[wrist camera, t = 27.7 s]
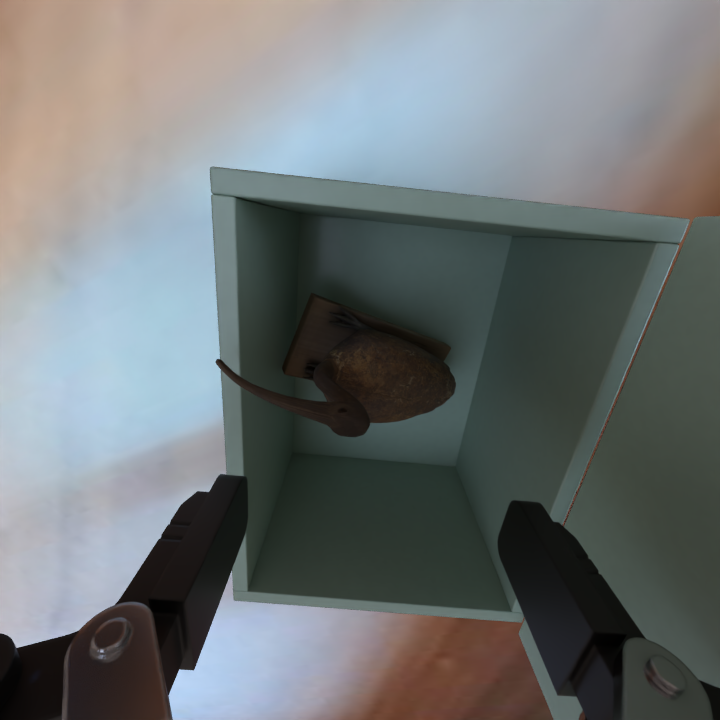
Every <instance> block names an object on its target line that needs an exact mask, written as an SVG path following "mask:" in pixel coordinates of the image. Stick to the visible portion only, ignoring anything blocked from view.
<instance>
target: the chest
mask: <svg viewBox="0 0 720 720" xmlns="http://www.w3.org/2000/svg"><path fill="white" fill-rule="evenodd" d="M210 181H211V192H212V194H213V195H211V202H212V220H213V238H214V256H215V273H216V291H217V309H218V327H219V345H220V359H221V360H222V361H223V362H224V363H225V364H226V365H227V366H228V367H229V368H230V369H231V370H232V371H233V372H235V373H236V374H237V375H239V376H240V377H242V378H243V379H245V380H247V381H249V382H250V383H252V384H254V385H257V386H259V387H262V388H264V389H267V390H270V391H273V392H276V393H280V394H283V395H287V396H290V397H295V398H300V399H306V400H313V401H325V402H327V400H326V398H325V396H324V394H323V392H322V391H321V390H320V389H319V388H318V387H317V386H316V385H315V383H314V381H312V380H307V379H303V378H298V377H293V376H289V375H285V374H284V372H283V370H282V366H283V363H284V360H285V358H286V356H287V353H288V350H289V348H290V345H291V343H292V340H293V338H294V335H295V333H296V330H297V328H298V325H299V322H300V320H301V317H302V315H303V312H304V310H305V307H306V304H307V302H308V299H309V297H310V295H311V293H314V294H317V295H319V296H322V297H324V298H327V299H329V300H332V301H335V302H337V303H340V304H343V305H345V306H348V307H351V308H353V309H356V310H359V311H361V312H364V313H367V314H369V315H372V316H375V317H377V318H380V319H383V320H385V321H388V322H390V323H393V324H396V325H399V326H401V327H404V328H406V329H409V330H412V331H415V332H417V333H420V334H422V335H425V336H428V337H430V338H433V339H436V340H438V341H441V342H444V343H446V344H447V345H449V346H450V347H451V350H450V352H449V353H448V355H447V357H446V359H445V360H444V363H446V364H447V365H448V366H449V368H450V372H451V373H452V374H453V376H454V378H455V382H456V388H455V392H454V394H453V396H451V397H450V399H449V400H447V401H446V402H445V403H444V404H443V405H441V406H440V407H437V408H435V409H434V410H433V411H431V412H428V413H425V414H421V415H417V416H415V417H412V418H409V419H406V420H402V421H398V422H390V423H370V426H369V428H368V430H367V432H366V433H365V434H364V435H362V436H358V437H344V436H339V435H337V434H336V433H334V432H333V431H332V430H331V428H330V427H328V426H327V425H325V424H322V423H320V422H317V421H314V420H312V419H309V418H306V417H304V416H301V415H298V414H295V413H293V412H290V411H288V410H285V409H283V408H281V407H278V406H276V405H274V404H271V403H269V402H267V401H265V400H263V399H261V398H259V397H257V396H255V395H254V394H252V393H250V392H248V391H247V390H245V389H243V388H242V387H240V386H239V385H237V384H236V383H235V382H233V381H232V380H231V379H230V378H229V377H228V376H227V375H226V374H225V373H224V372H223V371H222V370H221V381H222V399H223V417H224V435H225V453H226V471H227V475H236V476H246V477H247V481H248V523H247V528H246V533H245V536H244V539H243V542H242V544H241V547H240V550H239V552H238V555H237V558H236V560H235V563H234V565H233V568H232V578H233V596H234V600H235V601H246V602H260V603H273V604H286V605H299V606H312V607H325V608H338V609H351V610H364V611H378V612H391V613H404V614H417V615H430V616H443V617H456V618H469V619H482V620H495V621H509V622H522V620H523V618H524V615H523V612H522V610H521V608H520V605H519V603H518V601H517V598H516V596H515V593H514V591H513V589H512V586H511V584H510V581H509V579H508V577H507V574H506V572H505V570H504V567H503V565H502V562H501V560H500V557H499V553H498V546H497V541H498V535H499V532H500V529H501V526H502V523H503V520H504V518H505V515H506V512H507V509H508V506H509V504H510V502H511V501H512V500H520V501H532V502H539V503H541V504H542V505H543V507H544V508H545V510H546V511H547V513H548V514H549V516H550V517H551V519H552V520H553V522H559V523H560V524H561V525H562V524H563V522H564V520H565V517H566V515H567V512H568V510H569V508H570V505H571V503H572V501H573V498H574V496H575V493H576V491H577V489H578V486H579V484H580V481H581V479H582V477H583V474H584V472H585V470H586V467H587V465H588V462H589V460H590V458H591V455H592V453H593V450H594V448H595V446H596V443H597V441H598V439H599V436H600V434H601V431H602V429H603V427H604V424H605V422H606V419H607V417H608V415H609V412H610V410H611V408H612V405H613V403H614V400H615V398H616V396H617V393H618V391H619V389H620V386H621V384H622V381H623V379H624V377H625V374H626V372H627V369H628V367H629V365H630V362H631V360H632V358H633V355H634V353H635V350H636V348H637V346H638V343H639V341H640V338H641V336H642V334H643V331H644V329H645V327H646V324H647V322H648V319H649V317H650V315H651V312H652V310H653V307H654V305H655V303H656V300H657V298H658V296H659V293H660V291H661V288H662V286H663V284H664V281H665V279H666V277H667V274H668V272H669V269H670V267H671V265H672V262H673V260H674V257H675V255H676V253H677V250H678V248H679V245H677V244H678V243H680V242H681V241H682V239H683V236H684V234H685V231H686V229H687V227H688V224H689V222H690V220H689V219H687V218H678V217H668V216H659V215H650V214H641V213H632V212H623V211H614V210H604V209H595V208H586V207H577V206H568V205H559V204H550V203H540V202H531V201H522V200H513V199H504V198H495V197H485V196H476V195H467V194H458V193H449V192H440V191H431V190H421V189H412V188H403V187H394V186H385V185H376V184H367V183H357V182H348V181H339V180H330V179H321V178H312V177H302V176H293V175H284V174H275V173H266V172H257V171H248V170H238V169H229V168H220V167H210Z"/></svg>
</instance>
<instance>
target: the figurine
mask: <svg viewBox="0 0 720 720" xmlns="http://www.w3.org/2000/svg"><path fill="white" fill-rule="evenodd" d="M450 350H451V347H450V346H449V345H447V344H446V343H444V342H441V341H438V340H436V339H433V338H430V337H428V336H425V335H422V334H420V333H417V332H415V331H412V330H409V329H406V328H404V327H401V326H399V325H396V324H393V323H390V322H388V321H385V320H383V319H380V318H377V317H375V316H372V315H369V314H367V313H364V312H361V311H359V310H356V309H353V308H351V307H348V306H345V305H343V304H340V303H337V302H335V301H332V300H329V299H327V298H324V297H322V296H319V295H317V294H314V293H311V295H310V297H309V299H308V302H307V304H306V307H305V310H304V312H303V315H302V317H301V320H300V322H299V325H298V328H297V330H296V333H295V335H294V338H293V340H292V343H291V345H290V348H289V350H288V353H287V356H286V358H285V360H284V363H283V366H282V370H283V372H284V374H285V375H289V376H293V377H298V378H303V379H307V380H312V381H314V383H315V385H316V386H317V387H318V388H319V389H320V390H321V391H322V392H323V394H324V396H325V398H326V400H327V402H325V401H313V400H306V399H300V398H295V397H290V396H287V395H283V394H280V393H276V392H273V391H270V390H267V389H264V388H262V387H259V386H257V385H254V384H252V383H250V382H249V381H247V380H245V379H243V378H242V377H240V376H239V375H237V374H236V373H235V372H233V371H232V370H231V369H230V368H229V367H228V366H227V365H226V364H225V363H224V362H223V361H222V360H221V359H217V360H216V364H217V365H218V366H219V368H220V369H221V370H222V371H223V372H224V373H225V374H226V375H227V376H228V377H229V378H230V379H231V380H232V381H233V382H235V383H236V384H237V385H239V386H240V387H242V388H243V389H245V390H247V391H248V392H250V393H252V394H254V395H255V396H257V397H259V398H261V399H263V400H265V401H267V402H269V403H271V404H274V405H276V406H278V407H281V408H283V409H285V410H288V411H290V412H293V413H295V414H298V415H301V416H304V417H306V418H309V419H312V420H314V421H317V422H320V423H322V424H325V425H327V426H328V427H330V428H331V430H332V431H333V432H334V433H336V434H337V435H339V436H344V437H358V436H362V435H364V434H365V433H366V432H367V430H368V428H369V426H370V423H390V422H398V421H402V420H406V419H409V418H412V417H415V416H417V415H421V414H425V413H428V412H431V411H433V410H434V409H435V408H437V407H440V406H441V405H443V404H444V403H445V402H446V401H447V400H449V399H450V397H451V396H453V394H454V392H455V388H456V382H455V378H454V376H453V374H452V373H451V372H450V368H449V366H448V365H447V364H446V363H444V360H445V359H446V357H447V355H448V353H449V352H450Z"/></svg>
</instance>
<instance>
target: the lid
mask: <svg viewBox="0 0 720 720" xmlns="http://www.w3.org/2000/svg"><path fill="white" fill-rule="evenodd" d="M564 528H566V529H567V530H568V531H569V532H570V533H571V534H572V535H573V536H574V537H576V539H577V540H578V542H579V543H580V544H581V546H582V547H583V549H584V550H585V552H586V553H587V555H588V558H589V559H591V560H592V562H593V563H594V565H595V566H596V568H597V569H598V570H599V571H598V572H599V574H601V575H602V576H603V578H604V579H605V581H606V582H607V583H608V585H609V586H610V588H611V589H612V591H613V592H614V594H615V595H616V596H617V598H618V599H619V601H620V602H621V604H622V605H623V607H624V608H625V609H626V611H627V612H628V614H629V615H630V617H631V618H632V620H633V621H634V622H635V624H636V625H637V627H638V628H639V630H640V631H641V633H642V634H643V635H644V637H645V638H646V639H648V640H650V641H653V642H655V643H657V644H659V645H661V646H662V647H664V648H666V649H667V650H669V651H670V652H671V653H673V654H674V655H675V656H676V657H678V658H679V659H680V660H681V661H682V662H683V663H684V664H685V665H686V666H687V667H688V668H689V669H690V670H691V671H692V672H693V674H694V675H695V676H696V677H697V679H698V680H700V681H703V682H705V683H708V684H710V685H713V686H715V687H718V688H720V216H710V217H696V218H695V219H694V220H693V222H692V225H691V227H690V230H689V232H688V234H687V237H686V239H685V241H684V244H683V246H682V248H681V251H680V253H679V256H678V258H677V260H676V263H675V265H674V267H673V270H672V272H671V274H670V277H669V279H668V282H667V284H666V286H665V289H664V291H663V293H662V296H661V298H660V301H659V303H658V305H657V308H656V310H655V312H654V315H653V317H652V319H651V322H650V324H649V327H648V329H647V331H646V334H645V336H644V338H643V341H642V343H641V345H640V348H639V350H638V353H637V355H636V357H635V360H634V362H633V364H632V367H631V369H630V371H629V374H628V376H627V379H626V381H625V383H624V386H623V388H622V390H621V393H620V395H619V397H618V400H617V402H616V405H615V407H614V409H613V412H612V414H611V416H610V419H609V421H608V423H607V426H606V428H605V431H604V433H603V435H602V438H601V440H600V442H599V445H598V447H597V449H596V452H595V454H594V457H593V459H592V461H591V464H590V466H589V468H588V471H587V473H586V475H585V478H584V480H583V483H582V485H581V487H580V490H579V492H578V494H577V497H576V499H575V501H574V504H573V506H572V509H571V511H570V513H569V516H568V518H567V520H566V523H565V525H564ZM519 636H520V638H521V641H522V643H523V645H524V648H525V650H526V653H527V655H528V658H529V660H530V663H531V665H532V667H533V670H534V672H535V675H536V677H537V680H538V682H539V684H540V687H541V689H542V692H543V694H544V697H545V699H546V701H547V704H548V706H549V709H550V711H551V714H552V716H553V719H554V720H579V716H580V713H581V711H582V710H583V709H582V707H581V705H580V703H579V701H578V699H577V697H572V696H557V693H556V691H555V689H554V686H553V684H552V682H551V679H550V677H549V674H548V672H547V670H546V667H545V665H544V662H543V660H542V658H541V655H540V653H539V651H538V648H537V646H536V643H535V641H534V639H533V636H532V634H531V632H530V629H529V627H528V624H527V622H526V620H524V622H523V624H522V627H521V629H520V631H519Z"/></svg>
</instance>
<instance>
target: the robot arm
mask: <svg viewBox="0 0 720 720" xmlns="http://www.w3.org/2000/svg"><path fill="white" fill-rule="evenodd" d="M247 523H248V481H247V477H246V476H236V475H224V474H220V475H219V476H218V478H217V479H216V481H215V483H214V484H213V486H212V488H211V490H210V491H209V492H200V491H197V492H196V493H195V494H194V495H193V496H191V497H190V498H189V499H188V500H186V501H185V502H184V503H183V504H181V506H180V507H179V509H178V510H177V512H176V514H175V515H174V517H173V518H172V520H171V522H170V525H169V524H168V526H167V527H166V529H165V531H164V532H163V534H162V536H161V539H159V540H158V541H157V543H156V544H155V546H154V547H153V549H152V551H151V552H150V554H149V555H148V557H147V558H146V560H145V561H144V563H143V564H142V566H141V568H140V569H139V571H138V572H137V574H136V575H135V577H134V578H133V580H132V581H131V583H130V584H129V586H128V588H127V589H126V591H125V592H124V594H123V595H122V597H121V598H120V599H119V601H118V602H117V603H116V604H115V605H114V606H112V607H109V608H107V609H105V610H104V611H102V612H100V613H99V614H97V615H96V616H94V617H93V618H92V619H91V620H90V621H88V622H87V623H86V624H85V625H84V626H83V627H82V628H81V629H80V630H79V631H77V632H74V633H72V634H69V635H65V636H62V637H58V638H54V639H50V640H46V641H42V642H39V643H35V644H31V645H27V646H23V647H19V648H16V647H15V644H14V642H13V641H12V639H11V638H10V637H9V636H7V635H4V634H0V720H173V719H172V714H171V708H170V702H169V697H168V695H169V693H170V690H171V688H172V685H173V683H174V680H175V678H176V676H177V673H178V671H179V669H183V670H194V669H195V666H196V663H197V661H198V658H199V656H200V653H201V650H202V648H203V645H204V642H205V640H206V637H207V634H208V632H209V629H210V626H211V624H212V621H213V618H214V616H215V613H216V610H217V608H218V605H219V603H220V600H221V597H222V595H223V592H224V589H225V587H226V584H227V581H228V579H229V576H230V573H231V571H232V568H233V565H234V563H235V560H236V558H237V555H238V552H239V550H240V547H241V544H242V542H243V539H244V536H245V533H246V528H247ZM497 546H498V553H499V557H500V560H501V562H502V565H503V567H504V570H505V572H506V574H507V577H508V579H509V581H510V584H511V586H512V589H513V591H514V593H515V596H516V598H517V601H518V603H519V605H520V608H521V610H522V612H523V615H524V617H525V620H526V622H527V624H528V627H529V629H530V632H531V634H532V636H533V639H534V641H535V643H536V646H537V648H538V651H539V653H540V655H541V658H542V660H543V662H544V665H545V667H546V670H547V672H548V674H549V677H550V679H551V682H552V684H553V686H554V689H555V691H556V693H557V696H572V697H577V699H578V701H579V703H580V705H581V707H582V709H583V710H582V711H581V713H580V716H579V720H720V688H718V687H715V686H713V685H710V684H708V683H705V682H703V681H700V680H698V679H697V677H696V676H695V675H694V674H693V672H692V671H691V670H690V669H689V668H688V667H687V666H686V665H685V664H684V663H683V662H682V661H681V660H680V659H679V658H678V657H676V656H675V655H674V654H673V653H671V652H670V651H669V650H667V649H666V648H664V647H662V646H661V645H659V644H657V643H655V642H653V641H650V640H648V639H646V638H645V637H644V635H643V634H642V633H641V631H640V630H639V628H638V627H637V625H636V624H635V622H634V621H633V620H632V618H631V617H630V615H629V614H628V612H627V611H626V609H625V608H624V607H623V605H622V604H621V602H620V601H619V599H618V598H617V596H616V595H615V594H614V592H613V591H612V589H611V588H610V586H609V585H608V583H607V582H606V581H605V579H604V578H603V576H602V575H601V574H599V572H598V571H599V570H598V569H597V568H596V566H595V565H594V563H593V562H592V560H591V559H589V558H588V555H587V553H586V552H585V550H584V549H583V547H582V546H581V544H580V543H579V542H578V540H577V539H576V537H574V536H573V535H572V534H571V533H570V532H569V531H568V530H567V529H566V528H564V527H563V526H562V525H561V524H560V523H559V522H553V520H552V519H551V517H550V516H549V514H548V513H547V511H546V510H545V508H544V507H543V505H542V504H541V503H539V502H532V501H520V500H512V501H511V502H510V504H509V506H508V509H507V512H506V515H505V518H504V520H503V523H502V526H501V529H500V532H499V535H498V541H497Z"/></svg>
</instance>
